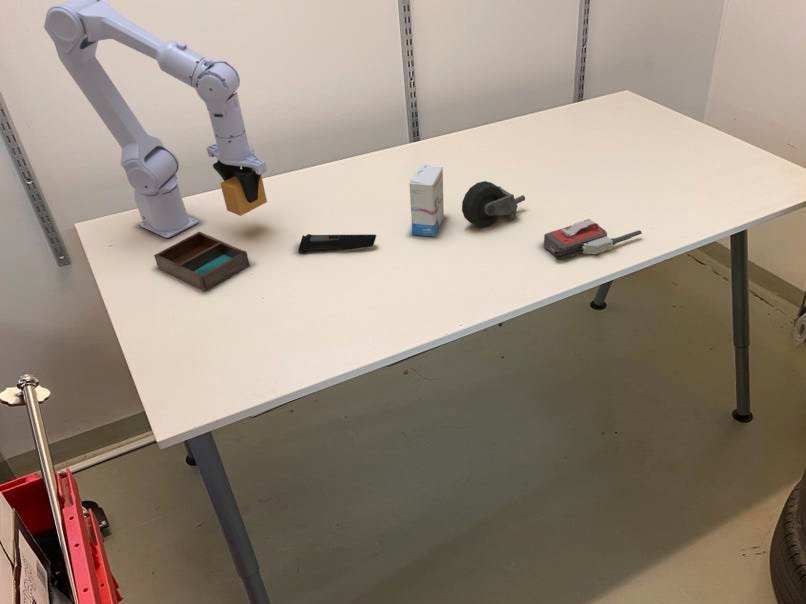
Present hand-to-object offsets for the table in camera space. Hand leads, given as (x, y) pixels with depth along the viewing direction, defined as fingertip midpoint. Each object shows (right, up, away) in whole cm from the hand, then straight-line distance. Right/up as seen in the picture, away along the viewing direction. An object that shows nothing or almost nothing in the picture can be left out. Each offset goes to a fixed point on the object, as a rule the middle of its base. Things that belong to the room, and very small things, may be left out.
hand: (245, 197), depth 144 cm
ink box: (+36, -5, +6) cm, 37 cm away
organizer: (-6, -14, -5) cm, 17 cm away
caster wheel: (+50, -3, +8) cm, 51 cm away
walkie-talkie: (+69, -9, 0) cm, 70 cm away
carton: (0, -1, +1) cm, 2 cm away
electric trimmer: (+18, -10, 0) cm, 21 cm away
